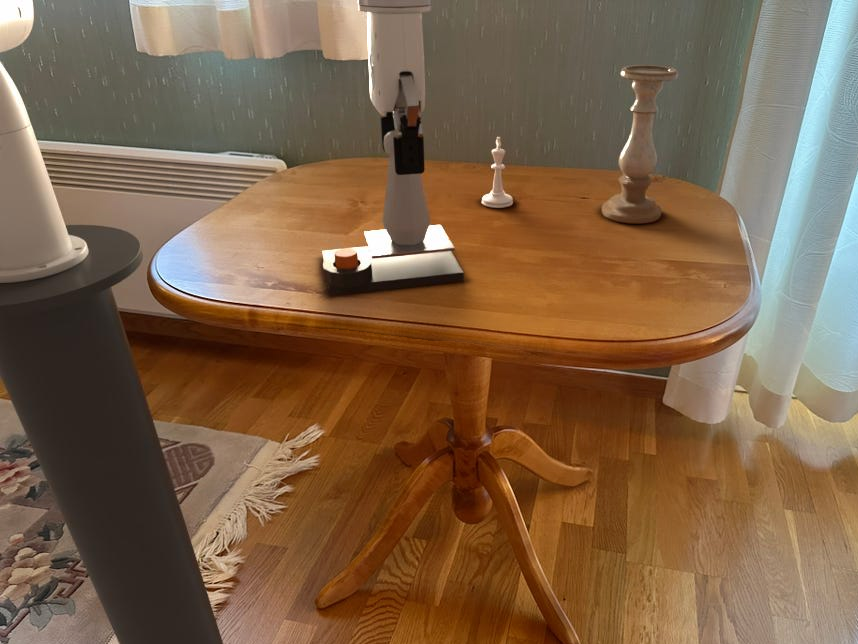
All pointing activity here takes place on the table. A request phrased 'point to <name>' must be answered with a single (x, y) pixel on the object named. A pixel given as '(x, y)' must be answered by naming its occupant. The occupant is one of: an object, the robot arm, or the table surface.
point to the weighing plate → (385, 247)
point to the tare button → (346, 258)
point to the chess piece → (497, 182)
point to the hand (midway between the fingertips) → (402, 161)
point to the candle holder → (639, 148)
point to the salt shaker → (404, 203)
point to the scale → (390, 272)
